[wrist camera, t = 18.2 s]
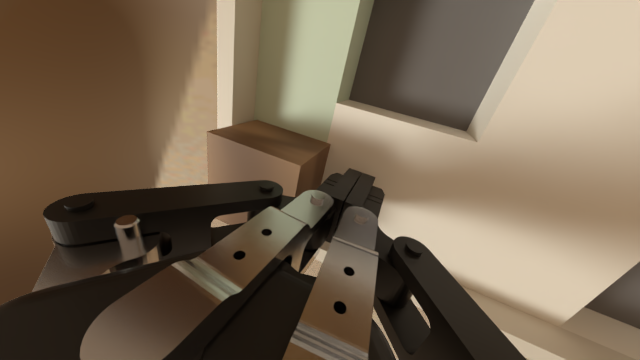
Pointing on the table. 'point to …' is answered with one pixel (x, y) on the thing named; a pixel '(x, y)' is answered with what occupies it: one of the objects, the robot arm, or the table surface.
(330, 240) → the robot arm
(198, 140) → the table surface
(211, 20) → the table surface
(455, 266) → the tray
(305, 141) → the block
